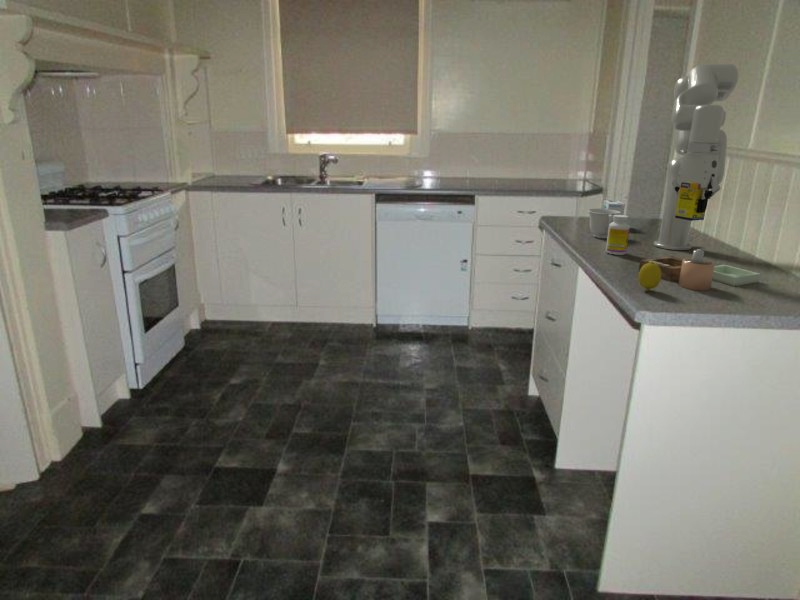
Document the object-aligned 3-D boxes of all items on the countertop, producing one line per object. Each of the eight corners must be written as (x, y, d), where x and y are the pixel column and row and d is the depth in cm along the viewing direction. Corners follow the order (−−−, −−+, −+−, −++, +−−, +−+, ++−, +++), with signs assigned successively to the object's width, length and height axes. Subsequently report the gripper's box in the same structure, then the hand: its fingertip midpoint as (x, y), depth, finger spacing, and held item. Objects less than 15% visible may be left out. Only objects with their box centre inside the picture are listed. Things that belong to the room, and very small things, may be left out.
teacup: (592, 241, 213) (596, 214, 210) (580, 233, 227) (583, 208, 224) (625, 241, 213) (629, 215, 210) (610, 234, 227) (614, 208, 224)
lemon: (632, 287, 155) (637, 259, 153) (652, 287, 156) (656, 259, 153) (642, 293, 150) (647, 264, 147) (662, 293, 150) (667, 264, 148)
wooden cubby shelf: (670, 267, 178) (672, 255, 177) (702, 275, 169) (704, 263, 167) (638, 271, 172) (640, 259, 171) (669, 280, 162) (671, 268, 161)
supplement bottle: (627, 256, 191) (633, 218, 187) (606, 254, 192) (611, 217, 188) (624, 251, 197) (629, 214, 193) (604, 250, 198) (609, 213, 194)
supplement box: (691, 221, 169) (698, 183, 166) (674, 218, 174) (680, 181, 171) (704, 220, 171) (711, 183, 168) (686, 217, 176) (693, 181, 173)
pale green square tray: (722, 272, 173) (724, 264, 172) (758, 282, 163) (760, 273, 162) (698, 276, 168) (700, 268, 167) (733, 286, 159) (735, 277, 158)
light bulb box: (600, 224, 247) (603, 199, 243) (616, 225, 246) (619, 200, 243) (605, 229, 237) (608, 203, 233) (621, 230, 236) (625, 204, 232)
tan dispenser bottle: (691, 280, 163) (697, 245, 160) (716, 288, 156) (724, 251, 153) (671, 283, 160) (678, 247, 156) (697, 291, 153) (704, 253, 150)
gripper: (738, 151, 161) (725, 214, 166) (684, 147, 175) (674, 206, 181) (721, 150, 158) (708, 215, 163) (667, 147, 172) (658, 207, 178)
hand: (690, 210), depth 172 cm, fingers closed on supplement box, 6 cm apart
